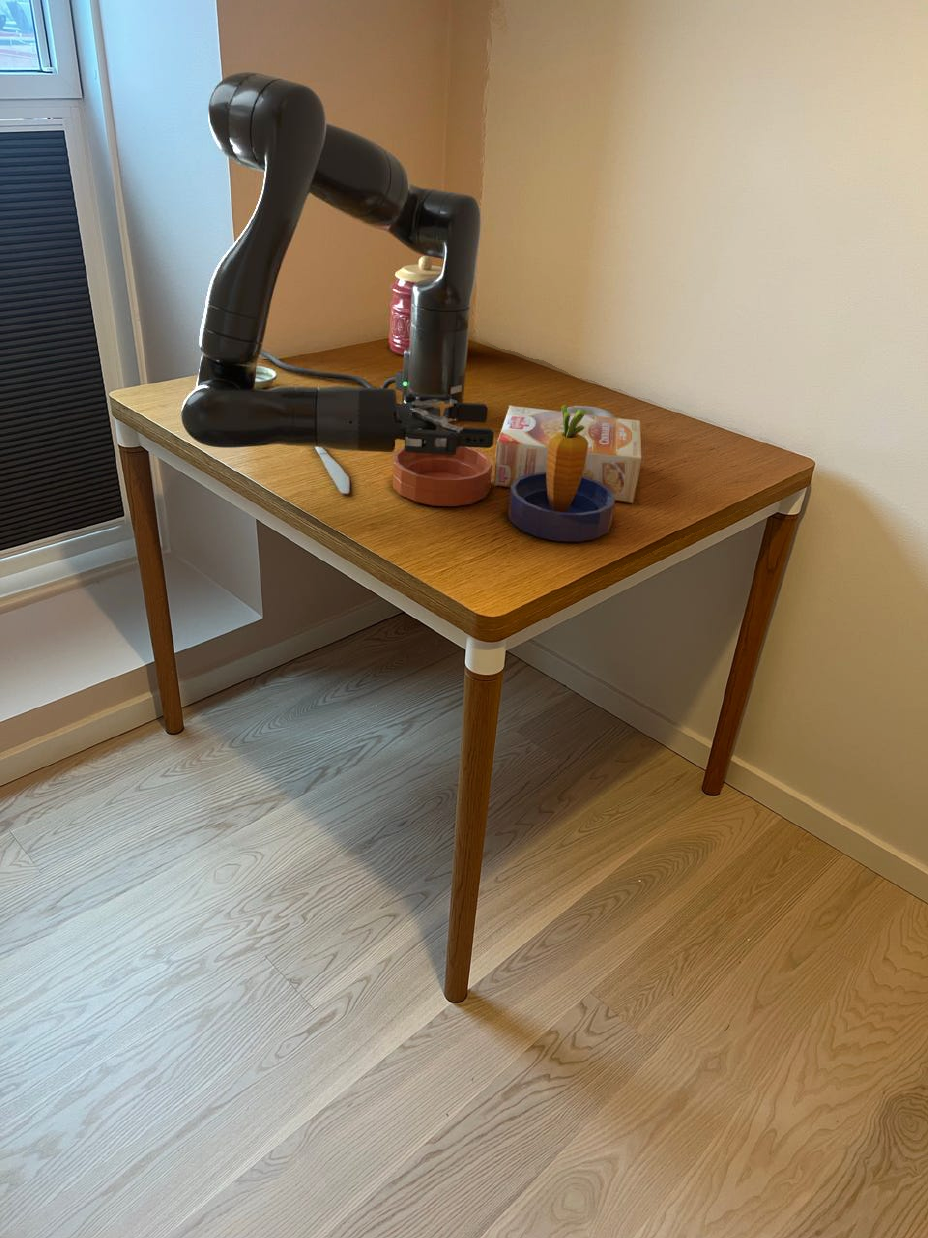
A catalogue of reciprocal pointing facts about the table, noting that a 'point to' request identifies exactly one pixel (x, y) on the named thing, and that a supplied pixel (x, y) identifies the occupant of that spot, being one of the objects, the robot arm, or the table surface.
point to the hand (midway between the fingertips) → (489, 425)
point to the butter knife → (334, 471)
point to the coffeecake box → (608, 438)
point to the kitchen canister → (406, 301)
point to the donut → (590, 411)
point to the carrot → (565, 462)
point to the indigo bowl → (576, 524)
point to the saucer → (264, 377)
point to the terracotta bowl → (442, 476)
